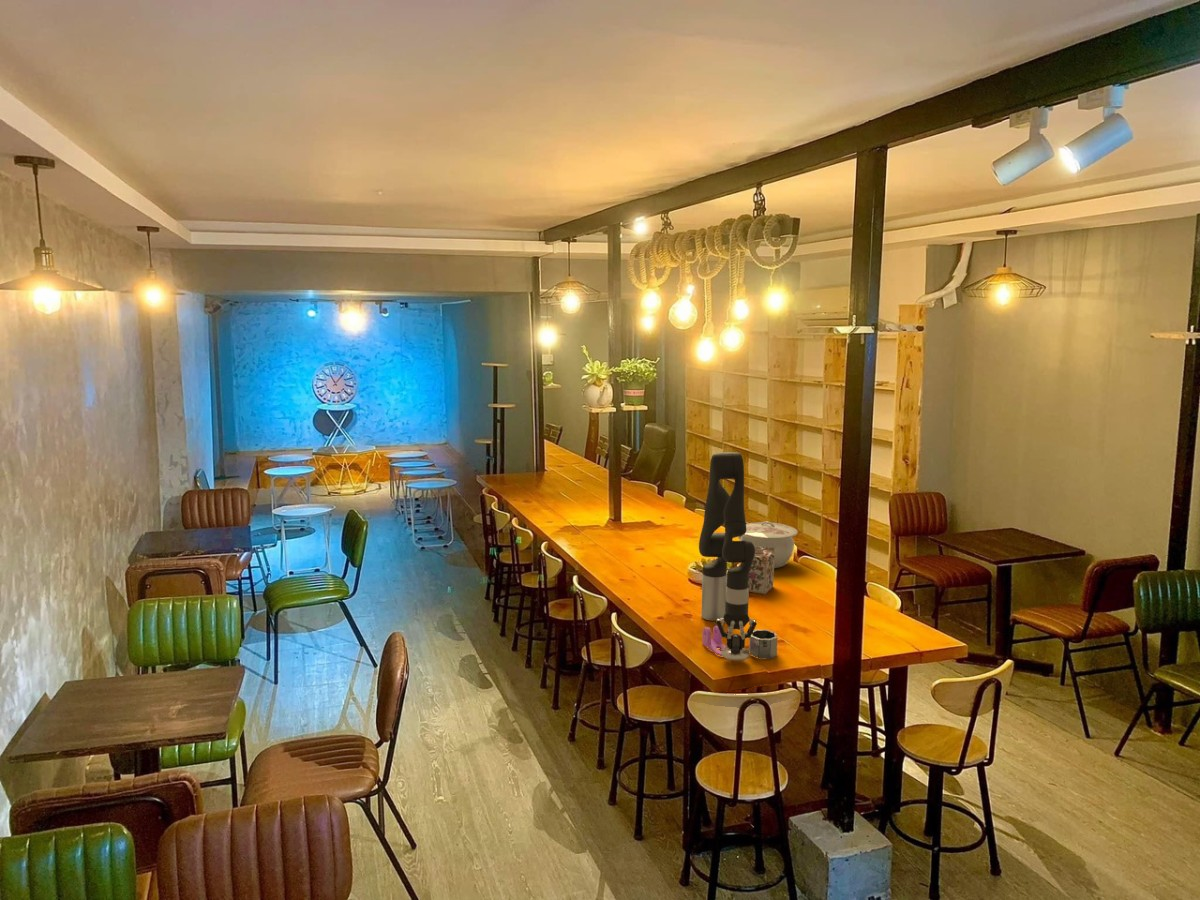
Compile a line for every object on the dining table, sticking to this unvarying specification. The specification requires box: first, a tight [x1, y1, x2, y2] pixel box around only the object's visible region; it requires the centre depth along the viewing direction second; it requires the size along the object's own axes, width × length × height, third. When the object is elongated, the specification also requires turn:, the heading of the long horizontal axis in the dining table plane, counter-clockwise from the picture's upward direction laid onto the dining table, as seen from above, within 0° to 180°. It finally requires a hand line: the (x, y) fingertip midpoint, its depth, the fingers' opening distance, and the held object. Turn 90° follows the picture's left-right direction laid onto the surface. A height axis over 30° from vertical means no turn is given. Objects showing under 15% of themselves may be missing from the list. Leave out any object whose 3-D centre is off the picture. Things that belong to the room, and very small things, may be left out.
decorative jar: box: [739, 547, 775, 595], centre depth 351 cm, size 12×12×18 cm
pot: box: [748, 629, 778, 660], centre depth 284 cm, size 13×9×7 cm
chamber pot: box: [737, 520, 799, 569], centre depth 384 cm, size 28×28×21 cm
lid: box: [721, 633, 750, 662], centre depth 277 cm, size 9×9×7 cm
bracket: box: [701, 625, 727, 656], centre depth 287 cm, size 13×6×7 cm, turn 21°
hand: (735, 648), depth 277 cm, fingers closed on lid, 3 cm apart
